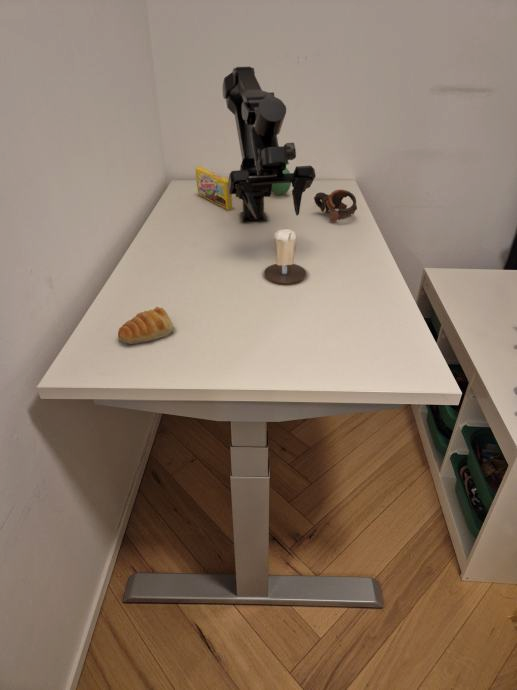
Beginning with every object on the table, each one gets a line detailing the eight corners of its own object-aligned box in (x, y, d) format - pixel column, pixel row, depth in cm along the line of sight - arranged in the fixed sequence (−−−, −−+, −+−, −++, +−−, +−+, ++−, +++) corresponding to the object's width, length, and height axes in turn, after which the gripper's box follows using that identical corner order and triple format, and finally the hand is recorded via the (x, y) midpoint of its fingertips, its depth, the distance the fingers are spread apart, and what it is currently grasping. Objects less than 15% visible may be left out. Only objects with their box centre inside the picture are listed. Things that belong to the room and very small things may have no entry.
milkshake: (278, 278, 99) (279, 234, 93) (271, 267, 103) (272, 224, 97) (298, 276, 99) (301, 231, 94) (291, 265, 104) (292, 221, 98)
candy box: (197, 195, 143) (194, 167, 138) (202, 193, 144) (200, 166, 139) (226, 210, 132) (225, 181, 127) (233, 208, 133) (232, 179, 128)
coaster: (261, 266, 104) (261, 264, 104) (301, 264, 105) (301, 261, 105) (267, 286, 97) (267, 283, 97) (309, 283, 98) (310, 280, 98)
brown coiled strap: (355, 212, 132) (363, 192, 124) (345, 237, 128) (353, 218, 120) (315, 197, 133) (321, 177, 125) (304, 222, 129) (309, 202, 121)
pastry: (129, 352, 79) (125, 334, 77) (112, 335, 83) (108, 317, 81) (177, 332, 84) (174, 314, 82) (158, 316, 88) (156, 299, 86)
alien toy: (285, 189, 147) (287, 156, 141) (293, 197, 141) (295, 163, 135) (264, 191, 145) (264, 157, 139) (271, 199, 139) (272, 164, 133)
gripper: (227, 130, 94) (239, 203, 92) (316, 125, 97) (329, 195, 95) (223, 160, 105) (233, 225, 103) (303, 155, 108) (314, 218, 106)
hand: (277, 216), depth 102 cm, fingers open, 9 cm apart
